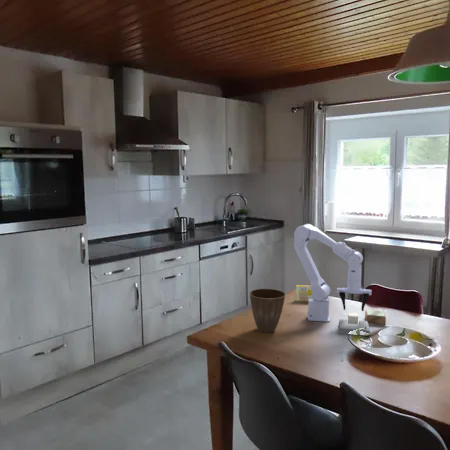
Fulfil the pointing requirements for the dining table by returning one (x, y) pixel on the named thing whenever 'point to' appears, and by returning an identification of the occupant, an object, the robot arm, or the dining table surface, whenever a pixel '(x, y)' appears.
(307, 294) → the candy box
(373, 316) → the walnut stand
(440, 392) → the dining table surface
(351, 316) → the cream block
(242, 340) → the dining table surface
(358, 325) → the slate notch board
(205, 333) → the dining table surface
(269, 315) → the plant pot
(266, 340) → the dining table surface
